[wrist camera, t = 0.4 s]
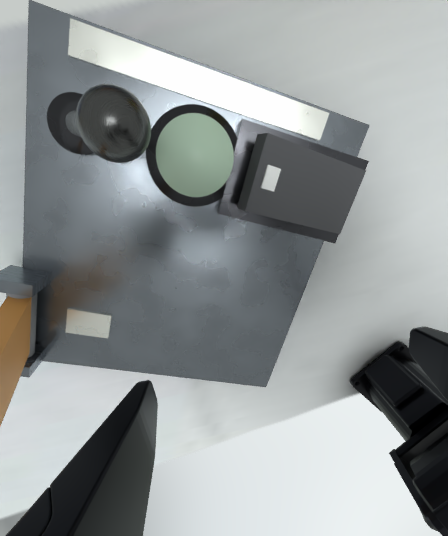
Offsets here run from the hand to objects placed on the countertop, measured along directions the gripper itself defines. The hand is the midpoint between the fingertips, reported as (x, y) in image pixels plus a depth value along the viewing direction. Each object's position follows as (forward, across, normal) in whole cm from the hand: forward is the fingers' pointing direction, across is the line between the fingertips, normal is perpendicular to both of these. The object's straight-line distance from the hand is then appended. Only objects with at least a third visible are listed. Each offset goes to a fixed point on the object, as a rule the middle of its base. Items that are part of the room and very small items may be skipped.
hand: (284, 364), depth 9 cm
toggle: (+10, +8, -10) cm, 16 cm away
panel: (+12, +4, -2) cm, 13 cm away
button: (+9, +2, -7) cm, 12 cm away
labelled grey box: (+9, -4, -5) cm, 11 cm away
